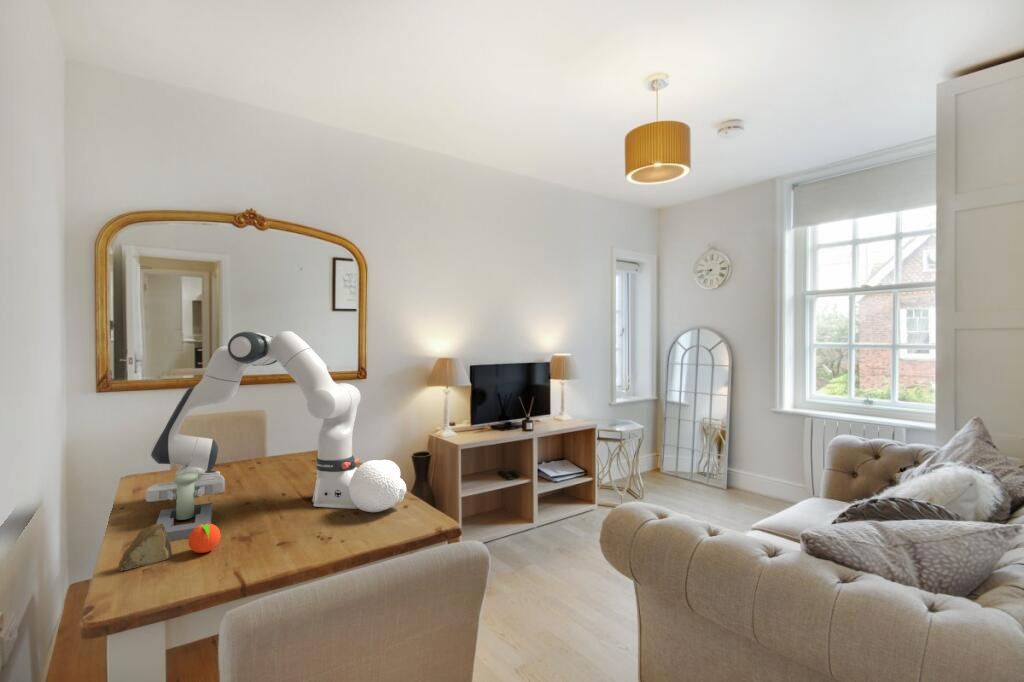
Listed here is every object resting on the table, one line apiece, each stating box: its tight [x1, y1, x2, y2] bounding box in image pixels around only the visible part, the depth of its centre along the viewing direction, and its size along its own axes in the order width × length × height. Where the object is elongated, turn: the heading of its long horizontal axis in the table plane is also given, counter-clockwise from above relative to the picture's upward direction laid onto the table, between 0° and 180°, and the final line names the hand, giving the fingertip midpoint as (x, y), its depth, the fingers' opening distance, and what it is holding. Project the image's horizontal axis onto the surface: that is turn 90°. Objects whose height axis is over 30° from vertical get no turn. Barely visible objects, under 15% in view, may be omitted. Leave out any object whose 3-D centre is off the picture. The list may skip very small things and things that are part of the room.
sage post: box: [173, 473, 198, 521], centre depth 142 cm, size 6×6×12 cm
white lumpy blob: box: [349, 459, 407, 513], centre depth 152 cm, size 20×18×16 cm
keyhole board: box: [155, 502, 213, 542], centre depth 138 cm, size 22×13×2 cm, turn 31°
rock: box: [118, 523, 173, 572], centre depth 115 cm, size 10×8×10 cm
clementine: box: [187, 523, 222, 554], centre depth 120 cm, size 8×7×7 cm
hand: (185, 496), depth 141 cm, fingers closed on sage post, 4 cm apart
